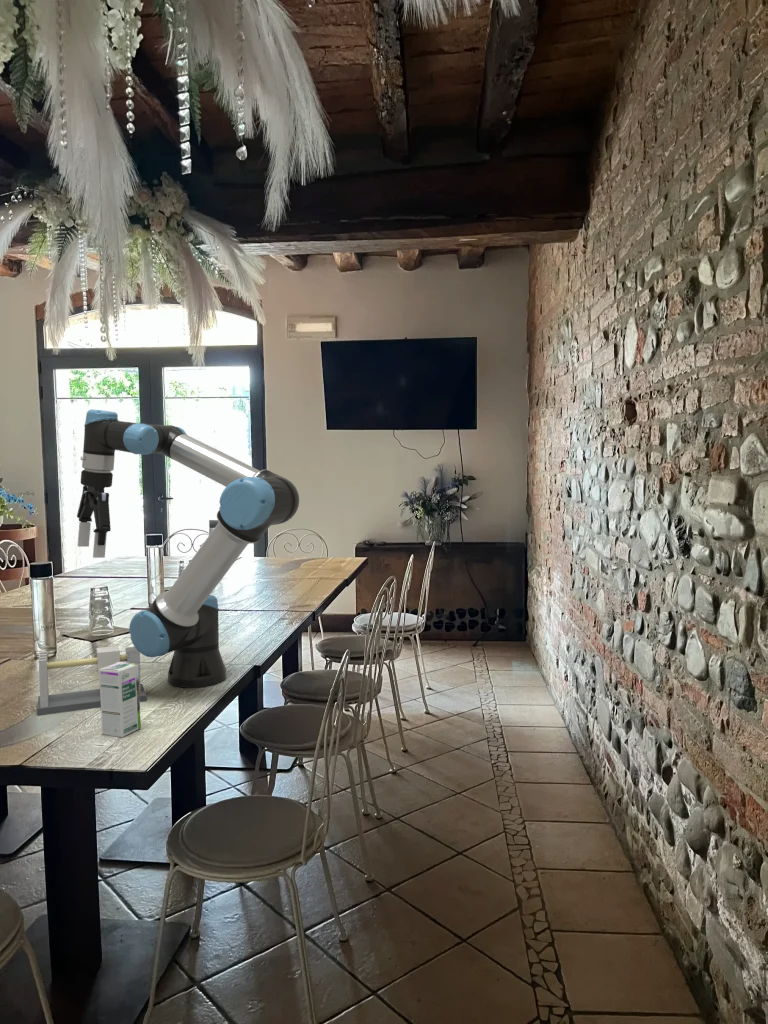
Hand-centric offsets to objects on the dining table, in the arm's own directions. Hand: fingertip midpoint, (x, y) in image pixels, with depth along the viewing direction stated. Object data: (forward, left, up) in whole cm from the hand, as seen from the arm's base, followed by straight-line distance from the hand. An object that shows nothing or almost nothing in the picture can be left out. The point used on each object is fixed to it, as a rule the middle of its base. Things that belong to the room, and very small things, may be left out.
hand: (90, 551), depth 184 cm
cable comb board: (-9, +12, -35) cm, 38 cm away
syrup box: (-28, +27, -35) cm, 52 cm away
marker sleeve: (-12, +9, -28) cm, 31 cm away
